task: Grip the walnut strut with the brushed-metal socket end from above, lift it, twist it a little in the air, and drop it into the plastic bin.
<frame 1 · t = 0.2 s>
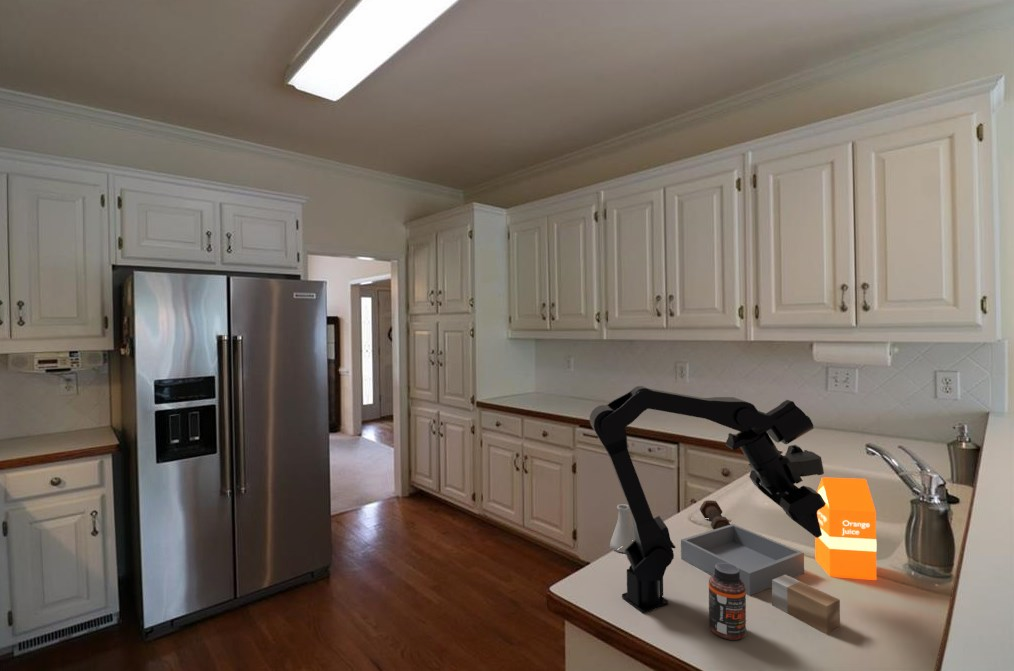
hand: (806, 525, 94), 15 cm above the worktop, tool tilted 30°, fingers open, 9 cm apart
strut: (804, 616, 90), on the worktop
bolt: (717, 530, 128), on the worktop
supplement bottle: (727, 632, 86), on the worktop
orange juice: (844, 570, 106), on the worktop
bin: (740, 565, 108), on the worktop
flask: (624, 548, 119), on the worktop
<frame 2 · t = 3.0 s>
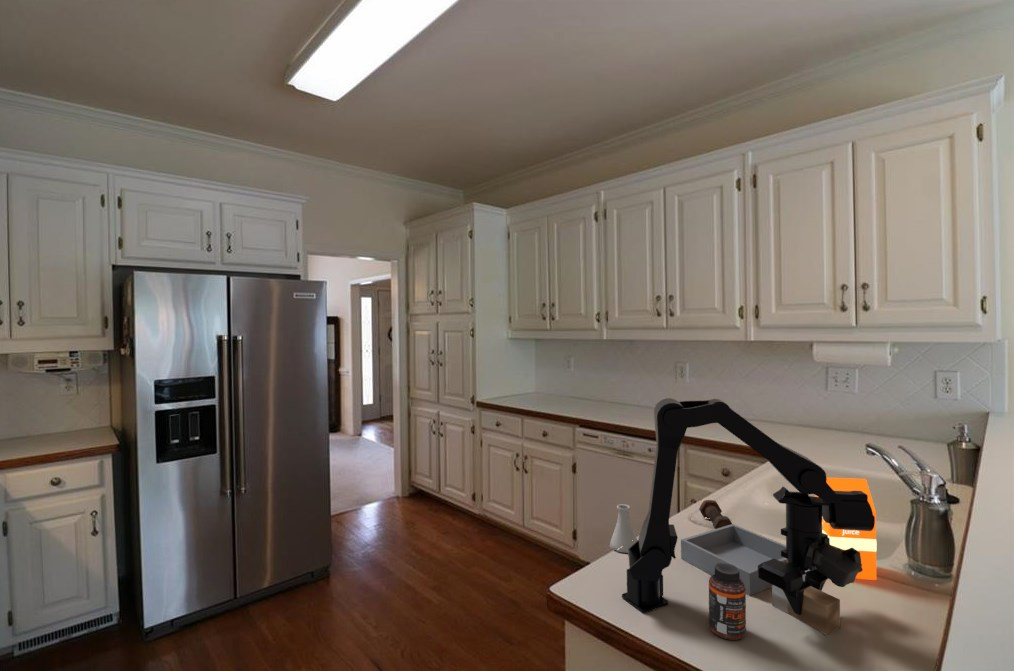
hand: (804, 610, 90), 1 cm above the worktop, tool pointing down, fingers closed on strut, 4 cm apart
strut: (804, 616, 90), on the worktop, touching gripper
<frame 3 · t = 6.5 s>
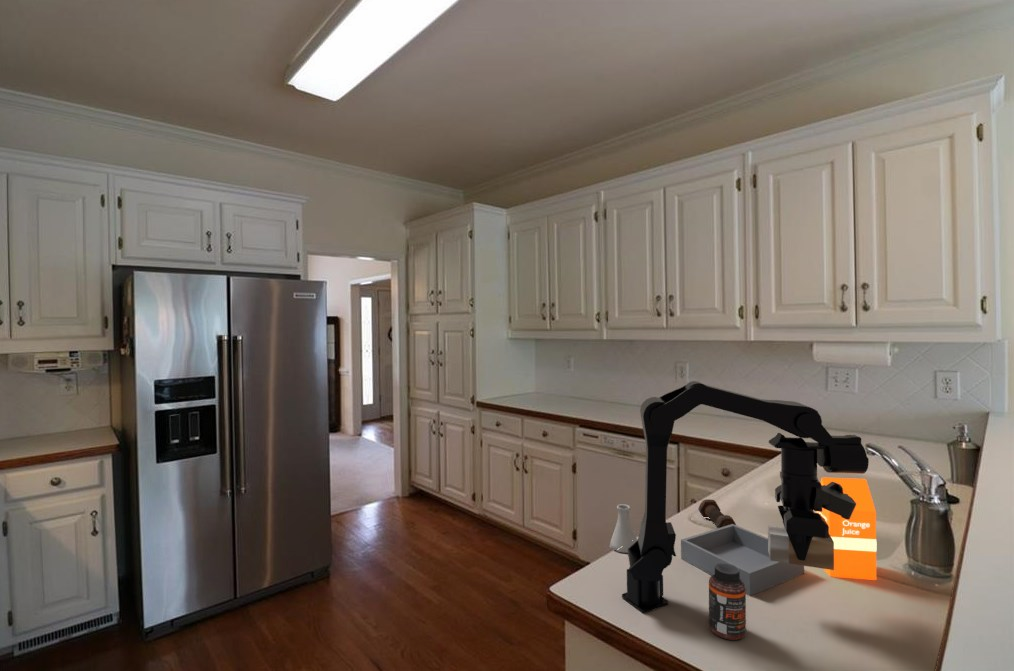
hand: (799, 554, 90), 11 cm above the worktop, tool pointing down, fingers closed on strut, 4 cm apart
strut: (799, 560, 90), point 10 cm above the worktop, touching gripper
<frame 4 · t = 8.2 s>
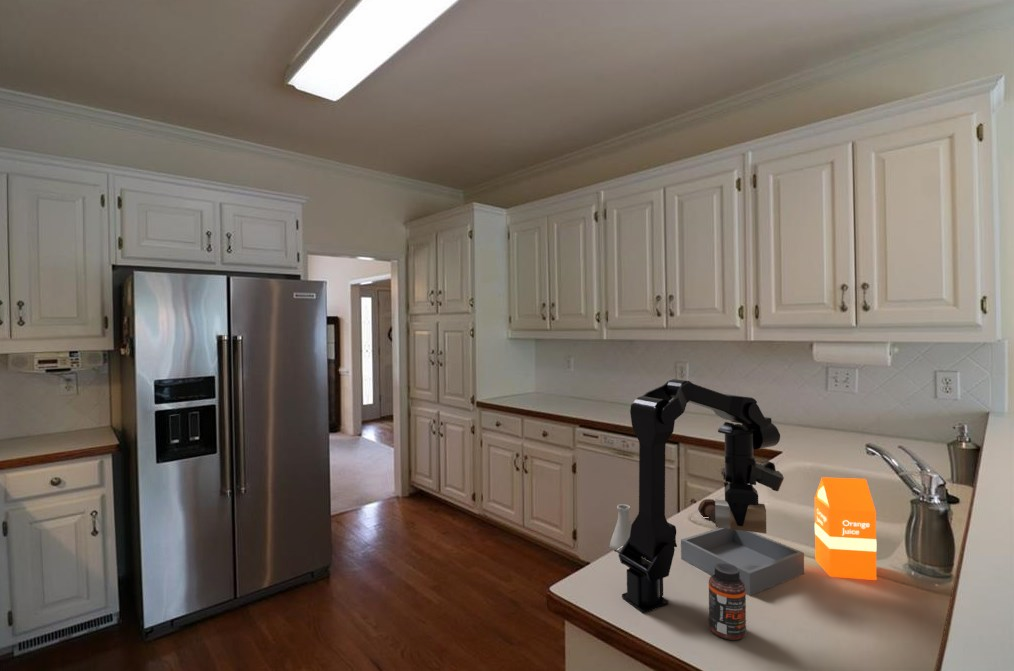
hand: (739, 522, 108), 10 cm above the worktop, tool pointing down, fingers closed on strut, 4 cm apart
strut: (740, 526, 108), point 9 cm above the worktop, touching gripper
when the fingers open (3 cm above the worktop, at t = 9.9 s): strut drops 2 cm, resting on bin.
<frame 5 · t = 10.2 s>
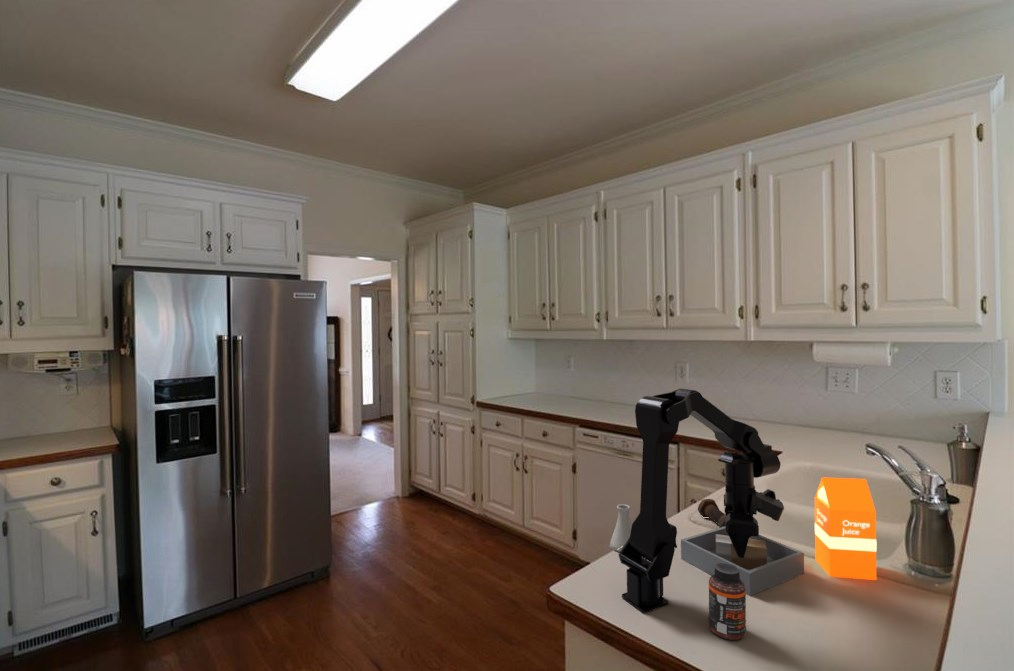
hand: (740, 550, 108), 3 cm above the worktop, tool pointing down, fingers open, 7 cm apart
strut: (740, 563, 108), point 1 cm above the worktop, touching bin
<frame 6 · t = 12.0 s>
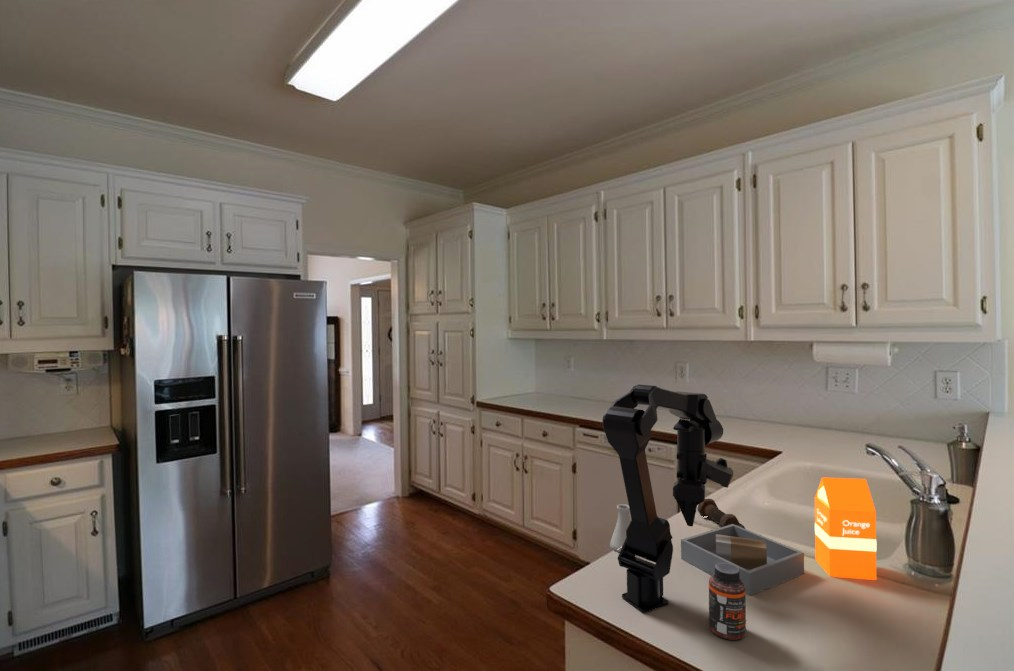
hand: (691, 518, 109), 11 cm above the worktop, tool pointing down, fingers open, 9 cm apart
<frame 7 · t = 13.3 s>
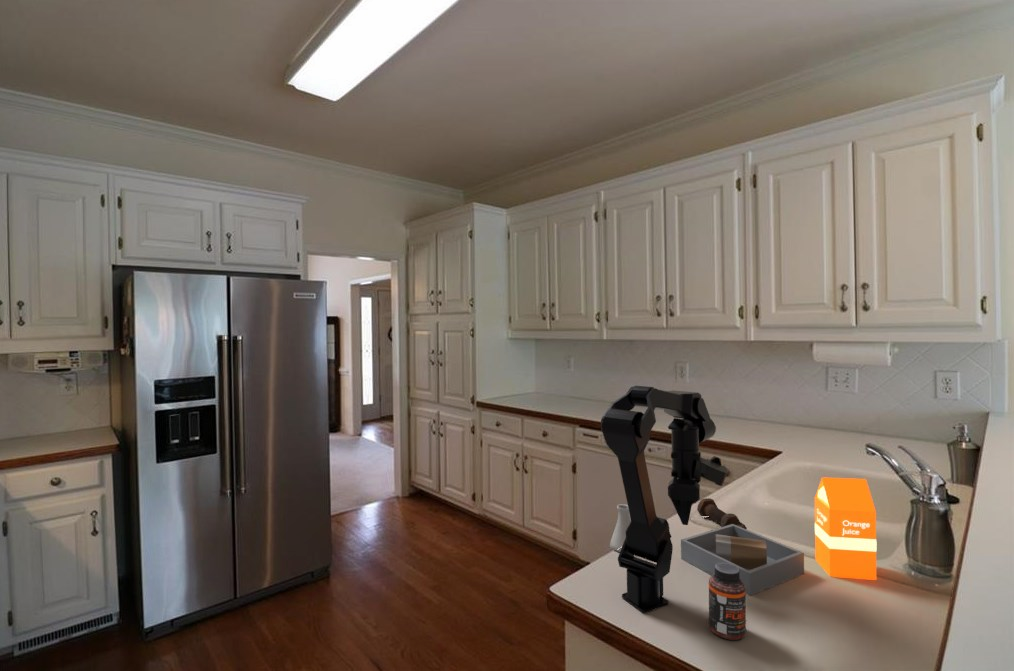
hand: (686, 516, 109), 11 cm above the worktop, tool pointing down, fingers open, 9 cm apart
at the end: strut inside the target area on the bin (0.0 cm from its centre), point 0.6 cm above the bin's base; the gripper is holding nothing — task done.
